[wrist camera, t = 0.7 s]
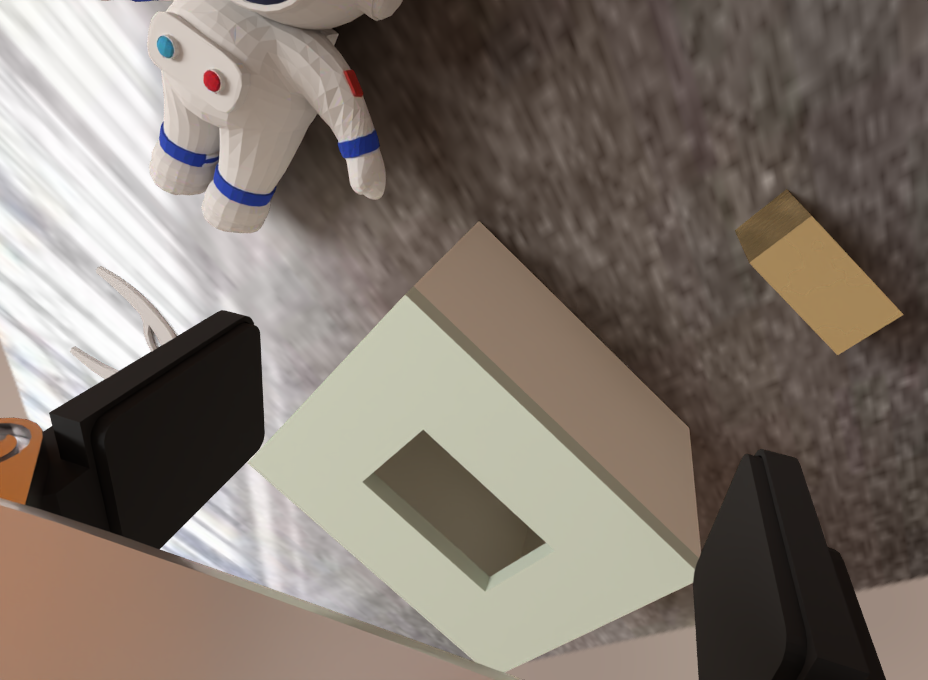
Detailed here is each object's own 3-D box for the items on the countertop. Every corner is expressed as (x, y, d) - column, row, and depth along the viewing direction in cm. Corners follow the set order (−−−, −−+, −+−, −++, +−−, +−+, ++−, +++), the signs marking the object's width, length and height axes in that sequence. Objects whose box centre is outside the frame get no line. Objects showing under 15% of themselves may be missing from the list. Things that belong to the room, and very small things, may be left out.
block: (864, 273, 30) (903, 314, 26) (810, 309, 32) (837, 355, 27) (786, 188, 30) (811, 215, 25) (734, 230, 31) (749, 262, 27)
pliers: (88, 268, 43) (256, 394, 44) (105, 262, 45) (268, 383, 45) (60, 358, 48) (211, 470, 49) (76, 350, 49) (224, 458, 50)
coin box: (689, 428, 37) (703, 577, 26) (531, 527, 44) (493, 677, 33) (478, 220, 35) (405, 294, 24) (348, 359, 42) (247, 463, 31)
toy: (-2, 120, 31) (33, -401, 20) (135, 95, 39) (217, -291, 27) (286, 328, 32) (481, -62, 20) (365, 263, 39) (538, -46, 28)
